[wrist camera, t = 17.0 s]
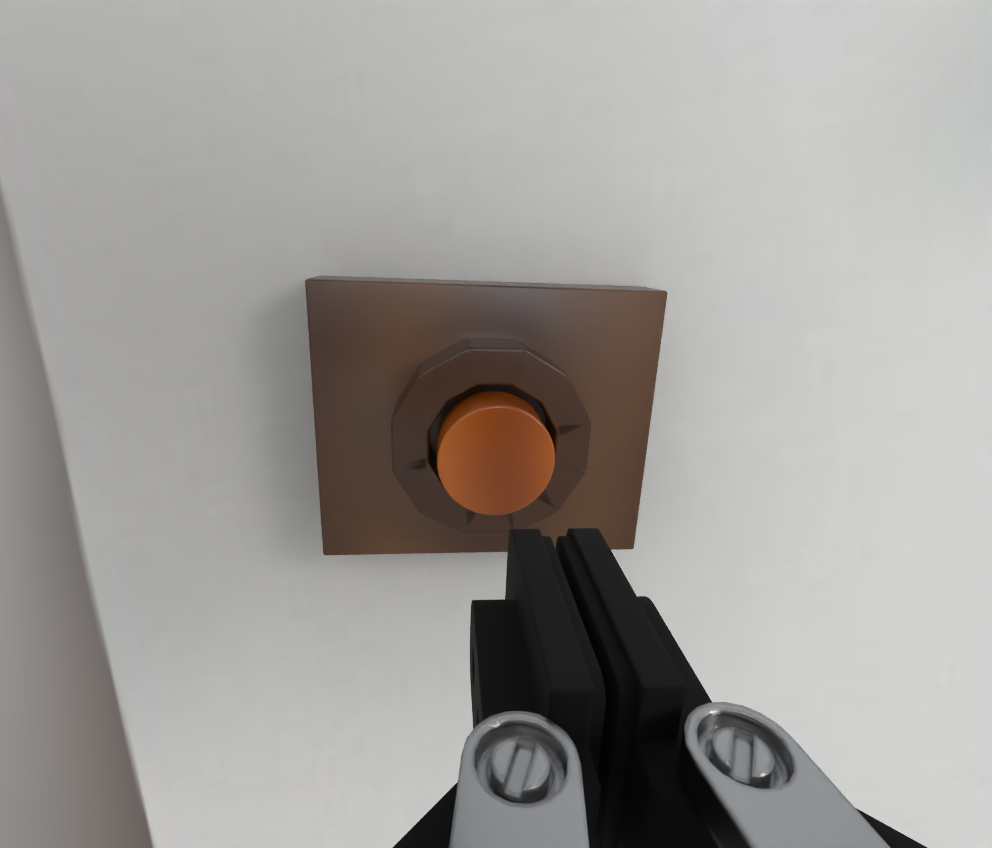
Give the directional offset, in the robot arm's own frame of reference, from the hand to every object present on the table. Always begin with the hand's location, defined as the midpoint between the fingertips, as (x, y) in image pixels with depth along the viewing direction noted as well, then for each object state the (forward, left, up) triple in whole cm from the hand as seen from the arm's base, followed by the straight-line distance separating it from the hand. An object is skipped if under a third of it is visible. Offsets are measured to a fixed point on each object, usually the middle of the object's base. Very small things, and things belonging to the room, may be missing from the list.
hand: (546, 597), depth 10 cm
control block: (0, 0, -12) cm, 12 cm away
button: (0, 0, -8) cm, 8 cm away
